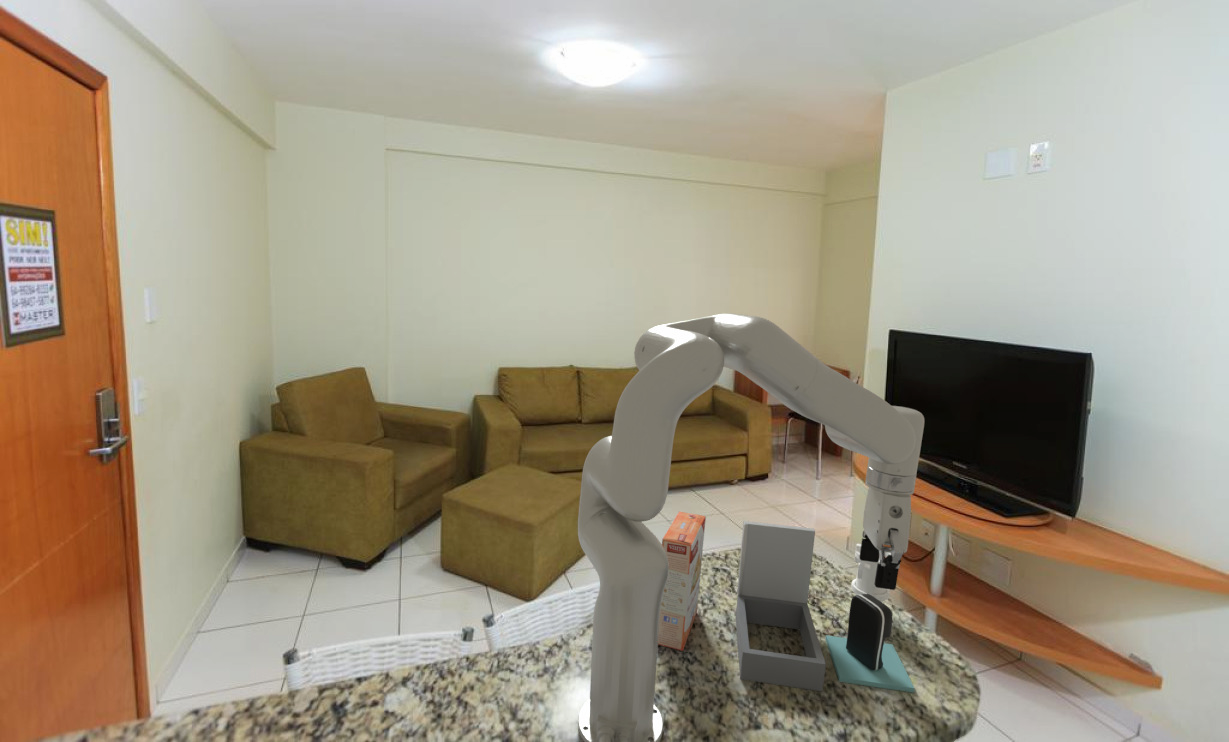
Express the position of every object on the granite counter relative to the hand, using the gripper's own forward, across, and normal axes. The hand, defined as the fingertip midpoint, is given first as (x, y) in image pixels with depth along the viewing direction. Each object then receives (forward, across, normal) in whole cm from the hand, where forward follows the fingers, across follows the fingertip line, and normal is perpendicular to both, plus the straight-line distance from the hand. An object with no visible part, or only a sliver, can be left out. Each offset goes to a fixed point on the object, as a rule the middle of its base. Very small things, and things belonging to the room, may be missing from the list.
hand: (876, 573), depth 100 cm
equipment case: (+18, 0, +15) cm, 23 cm away
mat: (+18, 0, -1) cm, 18 cm away
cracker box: (+18, +4, +33) cm, 38 cm away
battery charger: (+17, +1, -1) cm, 17 cm away
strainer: (+17, +16, -5) cm, 24 cm away
